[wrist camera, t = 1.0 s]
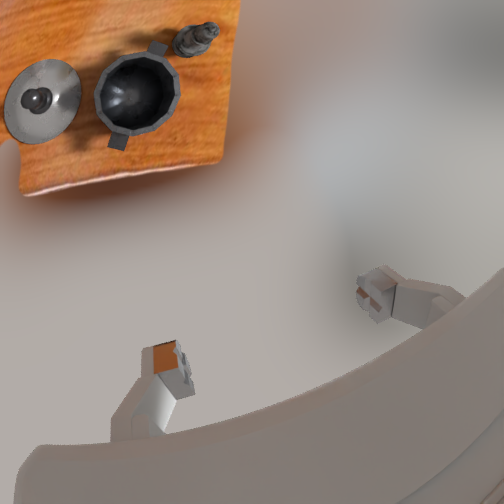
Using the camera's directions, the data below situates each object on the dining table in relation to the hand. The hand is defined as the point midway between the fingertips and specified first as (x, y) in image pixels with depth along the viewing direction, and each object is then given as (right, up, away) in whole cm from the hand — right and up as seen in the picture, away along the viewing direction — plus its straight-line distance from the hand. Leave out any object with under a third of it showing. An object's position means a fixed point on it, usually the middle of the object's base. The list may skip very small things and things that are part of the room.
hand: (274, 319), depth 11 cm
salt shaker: (-12, +38, +24) cm, 46 cm away
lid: (-33, +26, +17) cm, 46 cm away
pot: (-20, +28, +25) cm, 42 cm away
